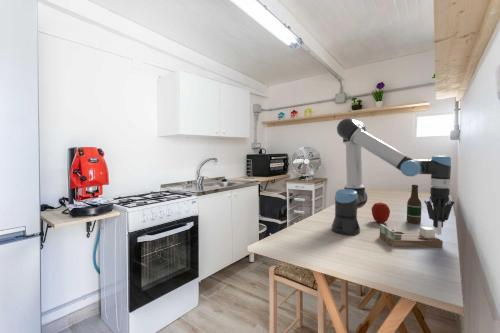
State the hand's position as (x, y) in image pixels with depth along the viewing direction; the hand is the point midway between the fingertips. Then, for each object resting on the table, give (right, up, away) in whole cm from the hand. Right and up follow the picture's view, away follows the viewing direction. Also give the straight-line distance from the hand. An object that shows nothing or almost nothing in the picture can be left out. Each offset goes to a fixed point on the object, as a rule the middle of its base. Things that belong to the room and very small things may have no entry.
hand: (437, 233), depth 121 cm
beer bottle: (+10, -2, +33) cm, 35 cm away
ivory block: (-5, -1, 0) cm, 5 cm away
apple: (-11, -2, +33) cm, 35 cm away
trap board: (-14, -4, +1) cm, 14 cm away
